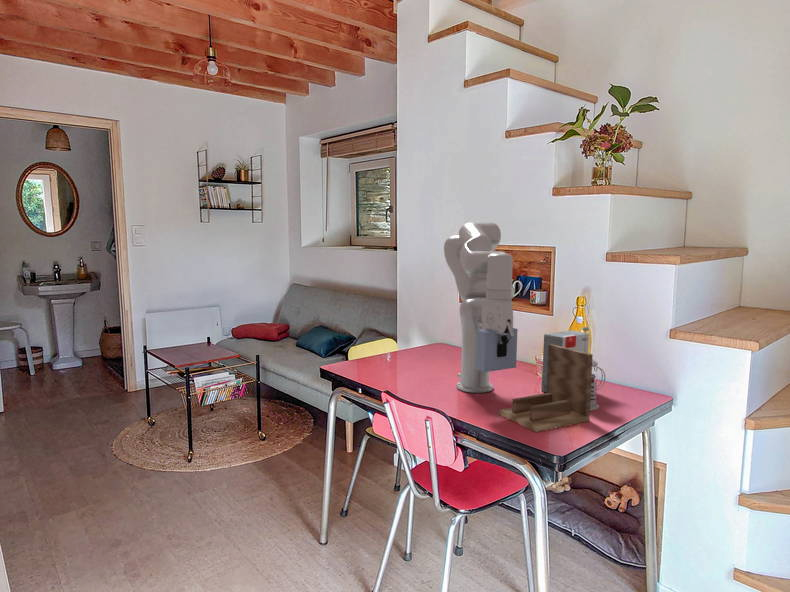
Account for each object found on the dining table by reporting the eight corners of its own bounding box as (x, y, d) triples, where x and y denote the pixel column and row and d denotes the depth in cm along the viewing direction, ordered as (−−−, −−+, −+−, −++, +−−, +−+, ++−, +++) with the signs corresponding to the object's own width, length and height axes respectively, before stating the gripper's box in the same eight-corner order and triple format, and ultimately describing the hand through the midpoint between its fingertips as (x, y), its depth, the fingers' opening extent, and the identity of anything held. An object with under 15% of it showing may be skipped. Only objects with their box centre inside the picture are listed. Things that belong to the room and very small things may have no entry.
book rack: (499, 414, 159) (500, 350, 157) (549, 405, 168) (552, 344, 166) (536, 432, 145) (538, 362, 142) (589, 420, 154) (592, 354, 152)
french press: (561, 400, 172) (563, 324, 170) (595, 399, 174) (598, 323, 171) (574, 410, 163) (577, 329, 160) (610, 409, 164) (614, 329, 161)
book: (476, 369, 161) (477, 330, 160) (507, 364, 167) (508, 326, 165) (484, 372, 158) (485, 332, 156) (516, 367, 163) (517, 329, 162)
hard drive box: (559, 397, 176) (561, 337, 174) (540, 391, 183) (542, 334, 180) (587, 389, 186) (589, 332, 183) (568, 384, 192) (570, 329, 189)
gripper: (471, 292, 165) (470, 350, 167) (506, 299, 150) (504, 362, 153) (491, 291, 168) (489, 347, 171) (527, 297, 154) (524, 359, 156)
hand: (496, 354), depth 162 cm, fingers closed on book, 4 cm apart
